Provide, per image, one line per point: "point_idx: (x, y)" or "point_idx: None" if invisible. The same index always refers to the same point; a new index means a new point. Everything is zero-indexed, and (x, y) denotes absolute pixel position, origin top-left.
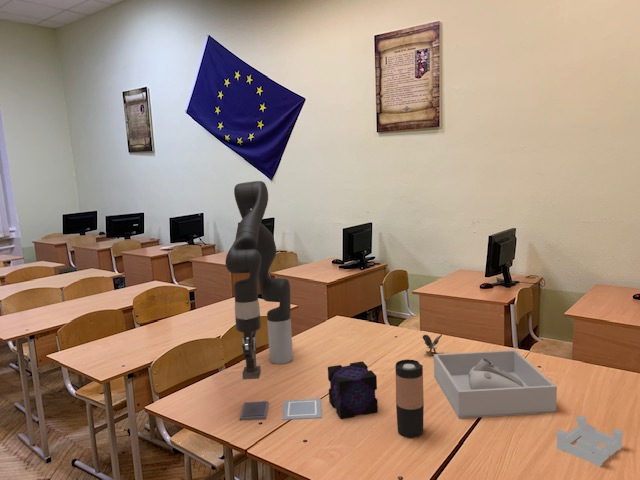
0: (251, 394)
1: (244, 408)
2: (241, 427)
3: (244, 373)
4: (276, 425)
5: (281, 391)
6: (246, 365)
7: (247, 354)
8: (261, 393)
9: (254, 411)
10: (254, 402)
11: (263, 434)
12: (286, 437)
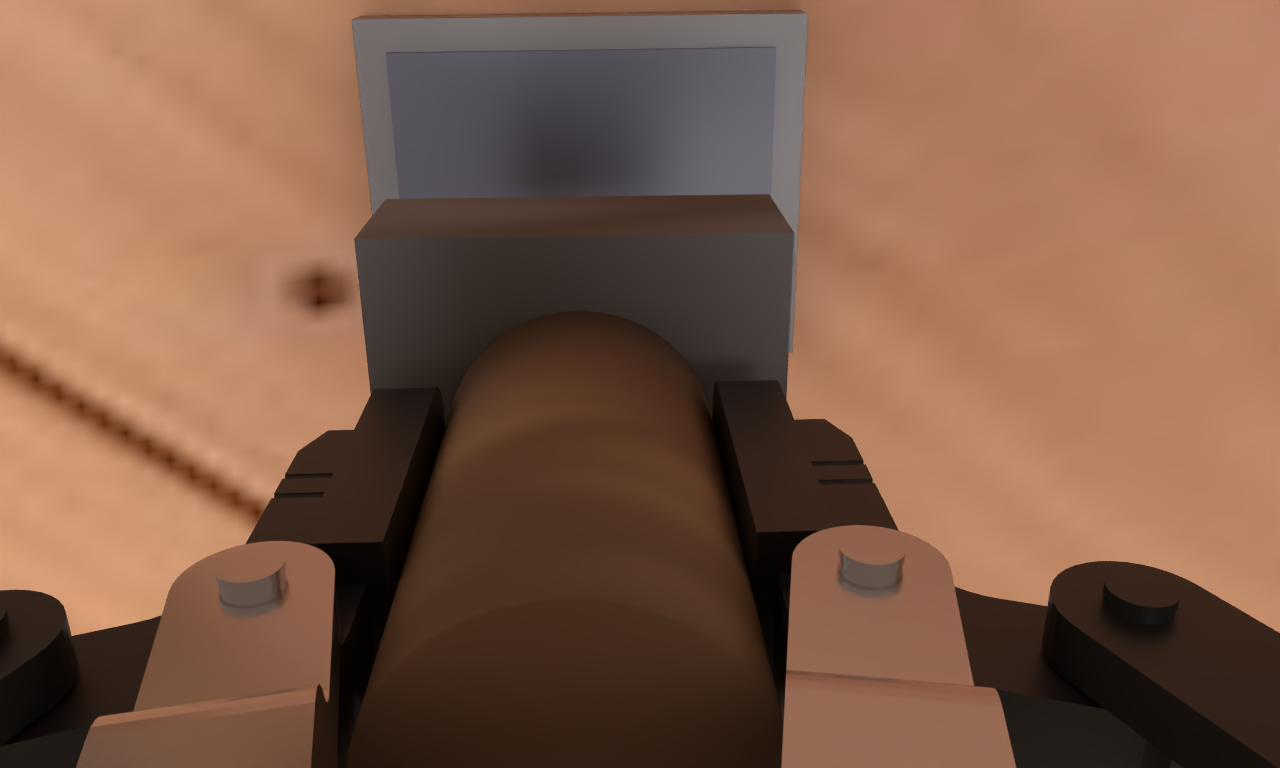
0: (1112, 71)
1: (604, 53)
2: (204, 63)
3: (364, 289)
4: (268, 470)
5: (1092, 456)
6: (490, 391)
7: (375, 671)
8: (1105, 211)
9: None
10: (763, 175)
11: (66, 352)
12: (34, 584)
